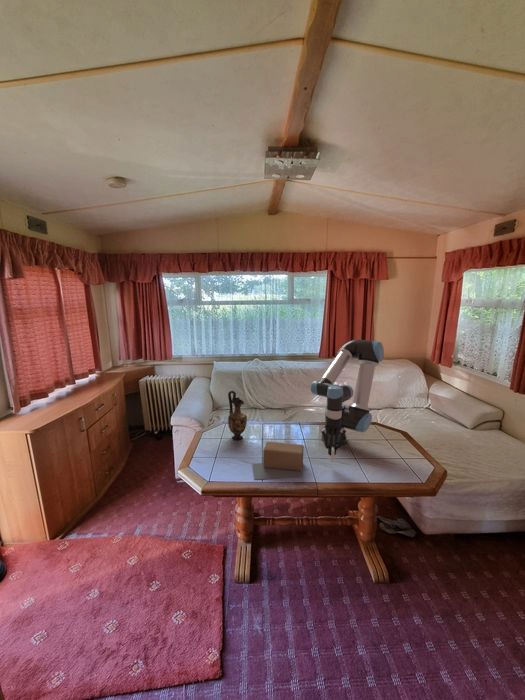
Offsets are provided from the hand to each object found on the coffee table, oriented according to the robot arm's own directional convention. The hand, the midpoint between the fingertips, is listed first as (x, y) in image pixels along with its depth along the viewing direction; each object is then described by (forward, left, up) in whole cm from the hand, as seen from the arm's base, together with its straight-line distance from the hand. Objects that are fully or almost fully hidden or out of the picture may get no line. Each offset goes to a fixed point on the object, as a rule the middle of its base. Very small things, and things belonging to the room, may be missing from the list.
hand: (331, 460), depth 149 cm
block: (+15, -2, +1) cm, 15 cm away
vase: (+48, -38, -4) cm, 61 cm away
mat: (+28, 0, -4) cm, 29 cm away
